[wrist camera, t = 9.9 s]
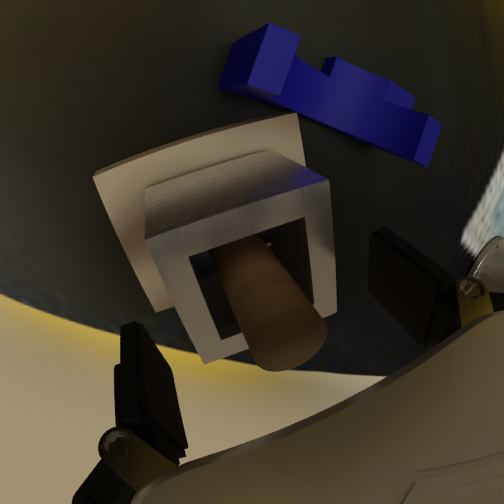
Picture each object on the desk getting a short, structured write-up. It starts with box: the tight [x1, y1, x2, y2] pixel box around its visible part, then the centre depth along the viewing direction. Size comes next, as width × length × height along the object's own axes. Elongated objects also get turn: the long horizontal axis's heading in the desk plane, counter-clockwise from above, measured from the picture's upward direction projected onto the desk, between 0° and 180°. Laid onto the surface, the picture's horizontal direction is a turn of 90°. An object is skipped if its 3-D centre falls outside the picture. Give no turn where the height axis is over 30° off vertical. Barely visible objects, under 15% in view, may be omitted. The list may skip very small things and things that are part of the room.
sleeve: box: [145, 150, 337, 364], centre depth 15 cm, size 7×7×6 cm
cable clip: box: [217, 23, 442, 168], centre depth 15 cm, size 12×4×6 cm, turn 71°
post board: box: [93, 111, 327, 372], centre depth 15 cm, size 10×12×12 cm
